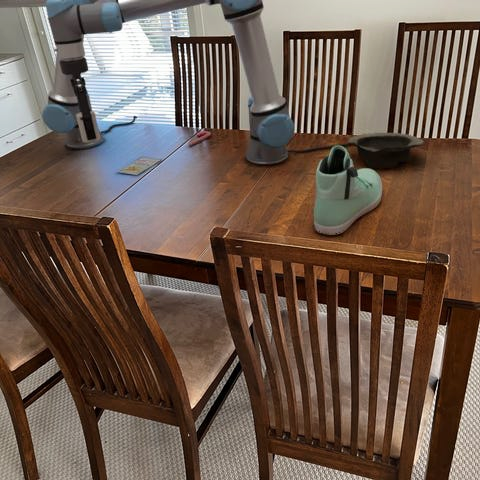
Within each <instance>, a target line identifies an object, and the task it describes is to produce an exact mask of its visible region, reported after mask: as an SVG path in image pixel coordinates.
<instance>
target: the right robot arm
mask: <svg viewBox="0 0 480 480" xmlns="http://www.w3.org/2000/svg"><path fill="white" fill-rule="evenodd" d="M202 4H206V5H207V6H215V5H220V8H221V10H222V11H221V12H222V14H223V17H224V20H225V21H226V22H227V23H229V24H230V25H231V26H232V31H233V34H234V38H235V42H236V45H237V49H238V53H239V56H240V60H241V65H242V68H243V72H244V75H245V78H246V82H247V86H248V89H249V93H250V97H249V98H248V101H247V103H248V104H247V108H248V122H249V143H248V148H247V151H246V162H247V163H248V164H250V165H253V166H257V167H274V166H278V165H281V164H284V163H285V162H287V160H288V159H289V153H294V154H295V153H297V154H298V153H299V154H300V153H308V152H313V151H318V150H326V149H327V150H328V149H332V148H333V147H334V146H342V147H346V146H347V147H348V146H352V145H351V144H348V143H349V142H347V143H341V144H334V145H325V146H318V147H313V148H306V149H288V148H287V146H286V145H287V144H288V143H290V142H291V140H292V138H293V136H294V134H295V124H294V121H293V119H292V118H291V117H290V113H289V108H288V105H287V99H286V98H285V97H283V96H282V95H281V94H280V92H279V88H278V83H277V79H276V76H275V70H274V66H273V62H272V58H271V55H270V51H269V46H268V42H267V38H266V34H265V30H264V25H263V21H262V17H261V14H262V12H263V10H264V8H265V7H264V2H263V0H97V1H96V2H95V3H94V4H86V5H75V4H74V2H73V0H47V1H46V7H45V8H46V14H47V20H48V23H49V27H50V31H51V34H52V37H53V38H52V39H53V43H54V46H55V47H54V48H53V51H54V52H57V51H58V52H57V54H58V58H59V59H61V60H60V62H59V63H60V67H61V71H62V73H63V74H64V75H72V79H70V81H71V85H72V87H73V90H74V93H75V95H76V96H77V100H78V104H79V109H80V112H81V113H82V118H80V120H83V124H84V128H85V132H86V136H87V140H93V139H97V138H96V134H95V130H94V125H93V121H92V115H91V113H90V111H91V109H90V108H89V104H88V100H87V96H86V94H87V91H88V90H87V91H86V89H87V87H86V79H85V77H84V76H83V77H82V74H85V73H87V72H88V71H89V66H88V61H87V58H86V57H85V56H86V52H85V47H84V41H83V42H82V38H81V35H84V36H85V35H92V34H105V33H109V34H112V33H116V32H120V31H122V30H123V24H125V23H129V22H132V21H133V22H134V21H137V20H142V19H146V18H149V17H154V16H158V15H162V14H166V13H170V12H174V11H179V10H182V9H183V10H184V9H188V8H191V7H194V6H199V5H202Z"/></svg>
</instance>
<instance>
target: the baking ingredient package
mask: <svg viewBox="0 0 480 480" xmlns="http://www.w3.org/2000/svg"><path fill="white" fill-rule="evenodd" d="M160 161H161V159H154V158H148V157H140V158H138V159H137V160H135V161H133V162H132V163H130V164H129V165H127V166H124V167H123V168H121V169H120V170H118V171H117V173H120V174H128V175H133V176H134V175H135V176H137V175H139V174H140V173H142V172H144V171H146V170H147V169H149V168H150V167H152V166H153V165H156V164H158V162H160Z"/></svg>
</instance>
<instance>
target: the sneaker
mask: <svg viewBox="0 0 480 480" xmlns="http://www.w3.org/2000/svg"><path fill="white" fill-rule="evenodd" d="M317 165H318V166H317V168H316V172H315V201H314V207H313V225H314V229H315V231H316V232H318V233H320V234H323V235H326V236H327V235H328V236H336V235H339V234H342V233H344V232H345V231H347V230H348V229H349V228H350V227H351V226H352V225H353V224H354V222H356V221H357V220H358V219H359V218H360V217H362V216H363V215H365V214H367V213H370V212H372V210H374V209H375V208H377V207H378V205H380V203H381V200H382V196H383V184H382V183H383V182H382V179H381V176H380V175H379V173H378V172H377V171H376V170H374V169H373V168H369V167H368V168H367V167H365V168H358V169H357V168H355V167H354V161H353V159H352V158H351V156H350V153H349V152H348V150H347V148H345V146H334V147H333V148H330V151H329V154H327V155H326V156H325V157H324V158H322V159H321V160H320V161H319V163H318V164H317ZM343 230H344V231H343ZM319 231H320V232H319ZM322 232H323V233H322ZM339 232H340V233H339ZM326 233H327V234H326ZM328 233H329V234H328ZM335 233H337V234H335Z"/></svg>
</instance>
